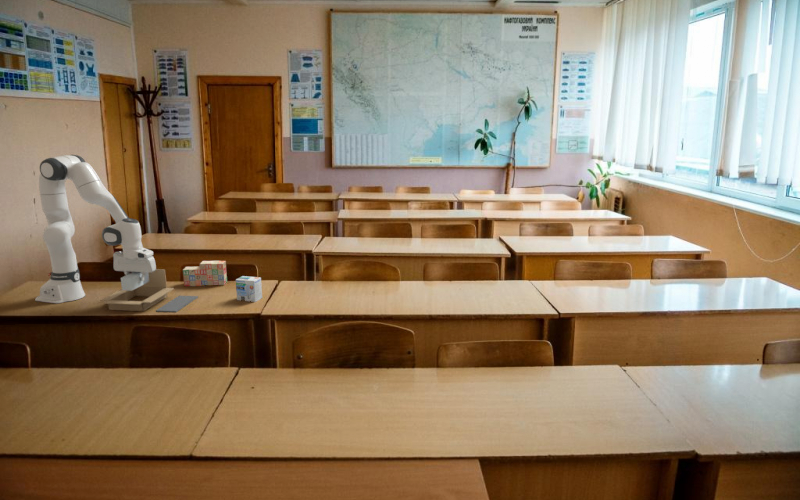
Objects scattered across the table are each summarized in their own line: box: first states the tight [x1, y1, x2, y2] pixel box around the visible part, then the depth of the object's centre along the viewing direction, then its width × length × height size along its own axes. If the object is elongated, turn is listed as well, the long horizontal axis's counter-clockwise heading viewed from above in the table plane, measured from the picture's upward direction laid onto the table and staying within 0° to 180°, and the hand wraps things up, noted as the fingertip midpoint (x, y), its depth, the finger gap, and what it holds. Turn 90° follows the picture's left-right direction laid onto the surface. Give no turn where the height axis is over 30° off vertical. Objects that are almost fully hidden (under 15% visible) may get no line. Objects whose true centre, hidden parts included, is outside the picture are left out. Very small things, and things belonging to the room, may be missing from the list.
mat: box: [155, 295, 199, 313], centre depth 286 cm, size 10×22×1 cm, turn 172°
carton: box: [99, 268, 175, 312], centre depth 286 cm, size 26×25×14 cm
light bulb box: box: [235, 275, 263, 303], centre depth 291 cm, size 11×7×11 cm, turn 73°
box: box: [120, 272, 149, 291], centre depth 286 cm, size 5×15×8 cm, turn 172°
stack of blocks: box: [182, 260, 228, 287], centre depth 317 cm, size 21×6×12 cm, turn 92°
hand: (135, 280), depth 287 cm, fingers closed on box, 5 cm apart
